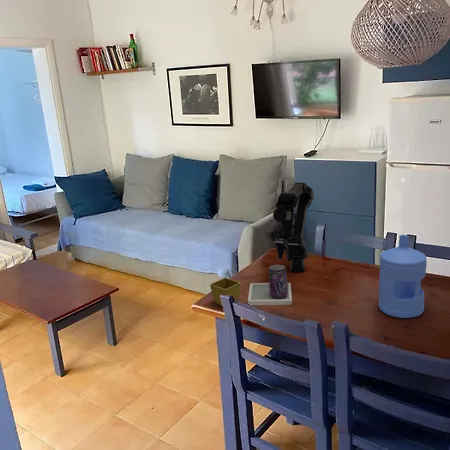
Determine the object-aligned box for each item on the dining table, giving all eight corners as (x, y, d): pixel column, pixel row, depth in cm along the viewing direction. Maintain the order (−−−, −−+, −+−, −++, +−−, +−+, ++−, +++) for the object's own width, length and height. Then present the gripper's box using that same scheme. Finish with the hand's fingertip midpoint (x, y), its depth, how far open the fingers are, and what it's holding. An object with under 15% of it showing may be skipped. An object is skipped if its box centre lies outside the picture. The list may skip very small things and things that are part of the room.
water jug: (369, 307, 175) (370, 235, 167) (398, 295, 182) (401, 227, 174) (403, 323, 161) (406, 247, 153) (433, 310, 169) (438, 236, 161)
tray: (250, 287, 199) (250, 283, 199) (290, 286, 197) (290, 282, 196) (247, 305, 183) (247, 301, 182) (291, 304, 181) (291, 300, 180)
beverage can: (271, 299, 184) (269, 271, 181) (268, 293, 191) (266, 265, 188) (289, 297, 184) (287, 269, 181) (285, 291, 191) (284, 263, 188)
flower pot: (226, 297, 191) (225, 277, 189) (242, 303, 185) (241, 282, 183) (211, 305, 186) (209, 284, 183) (226, 311, 179) (224, 289, 177)
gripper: (260, 221, 201) (258, 257, 201) (278, 221, 184) (275, 261, 183) (284, 223, 205) (281, 258, 205) (303, 223, 187) (301, 262, 187)
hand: (284, 260), depth 195 cm, fingers open, 9 cm apart
